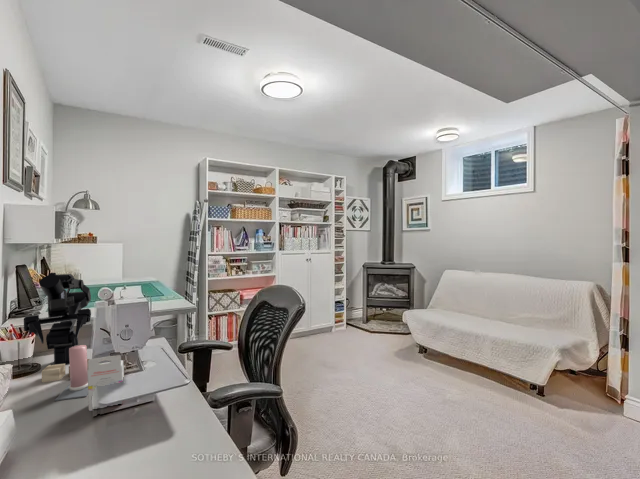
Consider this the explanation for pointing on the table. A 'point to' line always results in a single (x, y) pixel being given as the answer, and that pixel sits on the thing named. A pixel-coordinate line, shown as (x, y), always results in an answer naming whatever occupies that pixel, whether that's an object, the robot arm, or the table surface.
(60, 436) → the table surface
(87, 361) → the walnut block
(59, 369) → the birch block
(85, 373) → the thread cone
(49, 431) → the table surface
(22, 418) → the table surface
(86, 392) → the slate mat
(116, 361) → the ink cartridge box
